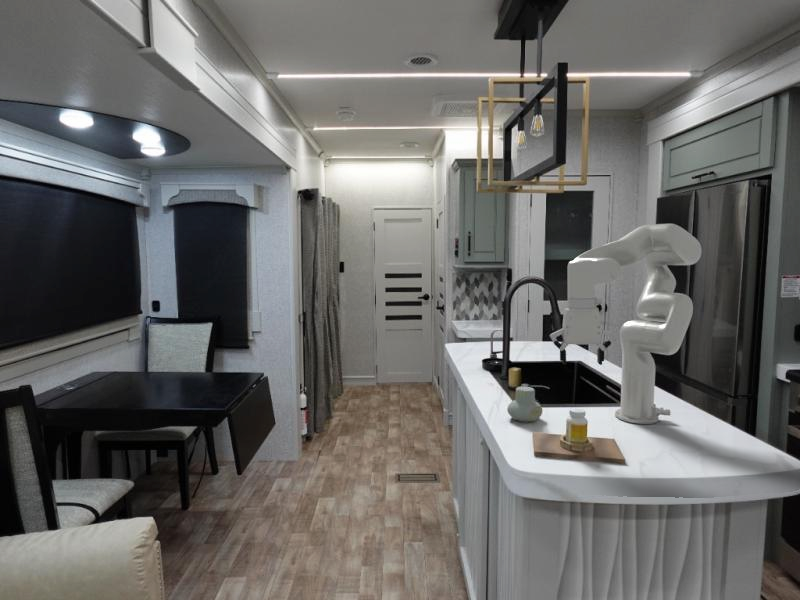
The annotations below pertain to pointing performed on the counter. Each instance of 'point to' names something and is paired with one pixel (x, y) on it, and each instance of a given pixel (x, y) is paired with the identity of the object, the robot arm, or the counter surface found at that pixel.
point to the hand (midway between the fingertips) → (581, 363)
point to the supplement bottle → (576, 426)
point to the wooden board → (577, 448)
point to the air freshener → (525, 405)
